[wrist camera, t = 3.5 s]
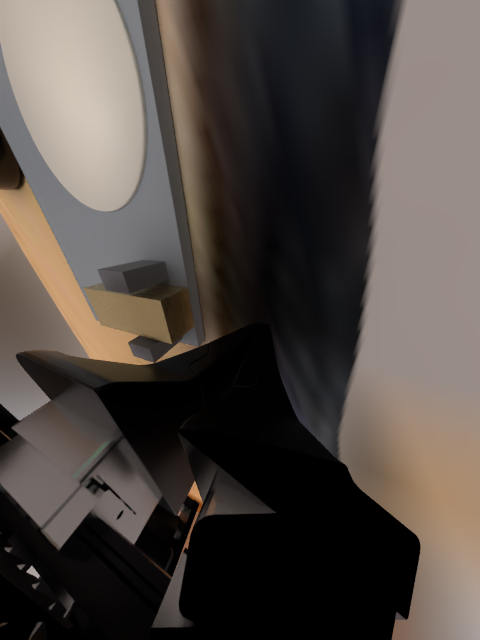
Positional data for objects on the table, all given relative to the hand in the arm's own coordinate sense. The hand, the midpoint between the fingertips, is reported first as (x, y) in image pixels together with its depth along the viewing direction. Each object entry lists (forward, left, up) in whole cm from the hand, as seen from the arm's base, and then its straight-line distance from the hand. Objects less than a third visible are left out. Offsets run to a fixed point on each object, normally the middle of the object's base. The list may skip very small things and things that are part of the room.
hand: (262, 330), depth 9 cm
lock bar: (0, +9, -1) cm, 9 cm away
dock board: (+6, +12, -2) cm, 14 cm away
